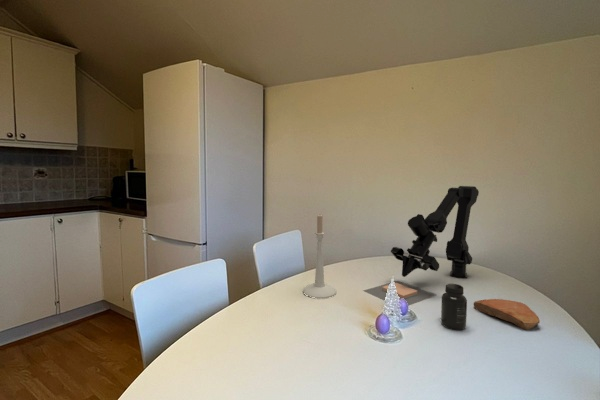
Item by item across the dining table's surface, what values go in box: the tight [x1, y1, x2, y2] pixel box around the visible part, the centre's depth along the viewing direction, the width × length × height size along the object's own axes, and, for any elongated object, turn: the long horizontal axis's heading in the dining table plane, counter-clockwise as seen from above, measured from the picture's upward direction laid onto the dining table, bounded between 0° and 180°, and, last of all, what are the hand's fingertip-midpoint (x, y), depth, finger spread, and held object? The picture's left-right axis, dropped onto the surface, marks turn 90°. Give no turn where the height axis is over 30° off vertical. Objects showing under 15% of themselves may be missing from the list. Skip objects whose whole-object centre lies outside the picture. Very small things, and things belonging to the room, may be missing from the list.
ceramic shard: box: [473, 298, 541, 330], centre depth 98 cm, size 15×6×15 cm
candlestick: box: [302, 214, 337, 299], centre depth 118 cm, size 13×13×30 cm
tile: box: [382, 283, 418, 299], centre depth 117 cm, size 2×10×8 cm
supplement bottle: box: [440, 283, 468, 331], centre depth 93 cm, size 7×7×12 cm
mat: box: [362, 280, 438, 307], centre depth 117 cm, size 20×18×1 cm
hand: (403, 276), depth 117 cm, fingers closed
